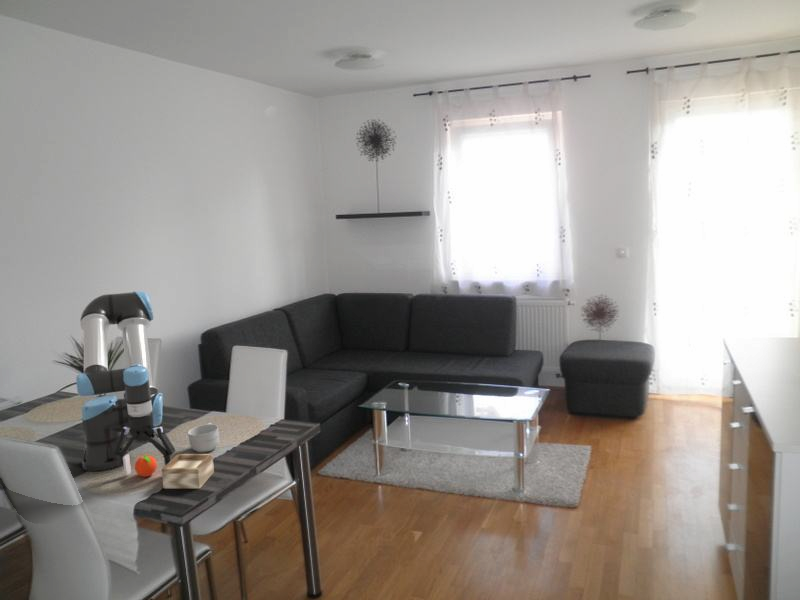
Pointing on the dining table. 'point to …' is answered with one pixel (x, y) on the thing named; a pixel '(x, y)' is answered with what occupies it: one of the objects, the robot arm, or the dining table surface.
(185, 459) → the wooden box
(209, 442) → the teacup
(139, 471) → the tomato
